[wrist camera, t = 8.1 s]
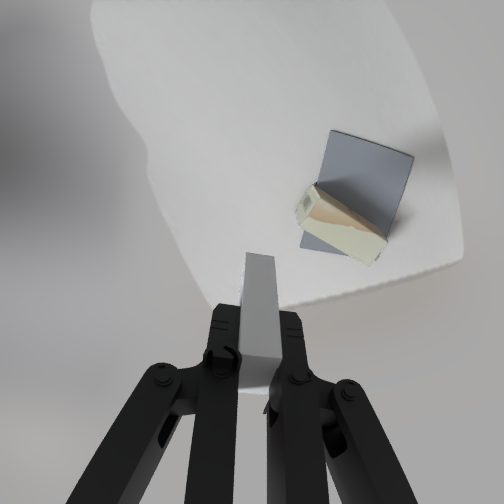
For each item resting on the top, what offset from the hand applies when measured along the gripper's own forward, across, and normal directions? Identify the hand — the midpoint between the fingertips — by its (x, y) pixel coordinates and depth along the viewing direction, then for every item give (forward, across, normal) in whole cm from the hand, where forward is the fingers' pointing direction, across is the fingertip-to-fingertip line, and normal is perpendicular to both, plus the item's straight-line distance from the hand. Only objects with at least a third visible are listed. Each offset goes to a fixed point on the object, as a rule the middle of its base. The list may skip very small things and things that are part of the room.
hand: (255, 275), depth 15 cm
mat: (+21, +14, -1) cm, 25 cm away
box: (+18, +6, -2) cm, 19 cm away
